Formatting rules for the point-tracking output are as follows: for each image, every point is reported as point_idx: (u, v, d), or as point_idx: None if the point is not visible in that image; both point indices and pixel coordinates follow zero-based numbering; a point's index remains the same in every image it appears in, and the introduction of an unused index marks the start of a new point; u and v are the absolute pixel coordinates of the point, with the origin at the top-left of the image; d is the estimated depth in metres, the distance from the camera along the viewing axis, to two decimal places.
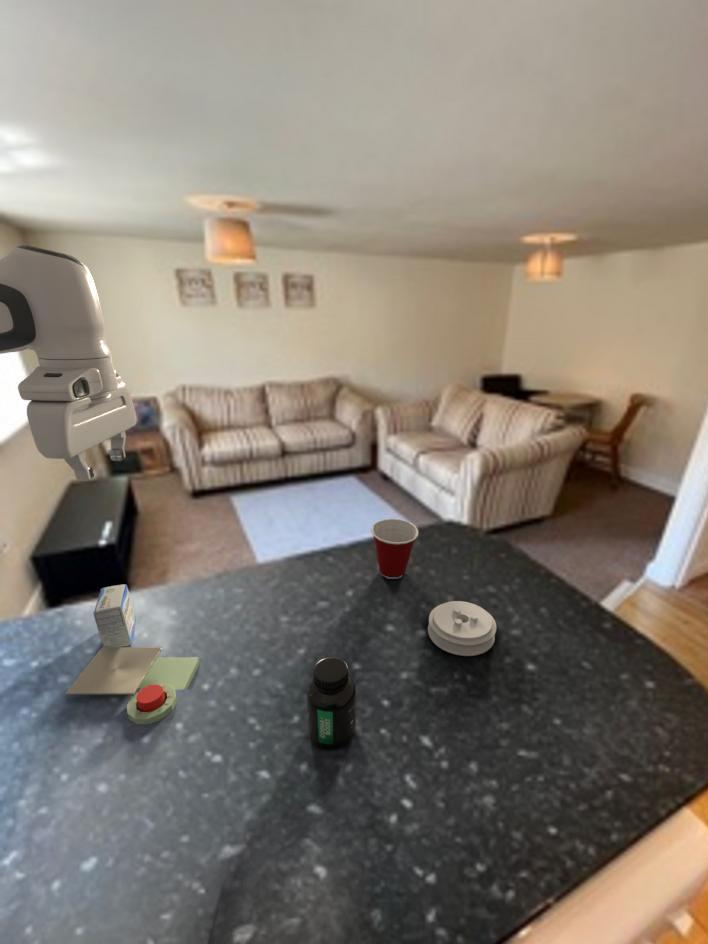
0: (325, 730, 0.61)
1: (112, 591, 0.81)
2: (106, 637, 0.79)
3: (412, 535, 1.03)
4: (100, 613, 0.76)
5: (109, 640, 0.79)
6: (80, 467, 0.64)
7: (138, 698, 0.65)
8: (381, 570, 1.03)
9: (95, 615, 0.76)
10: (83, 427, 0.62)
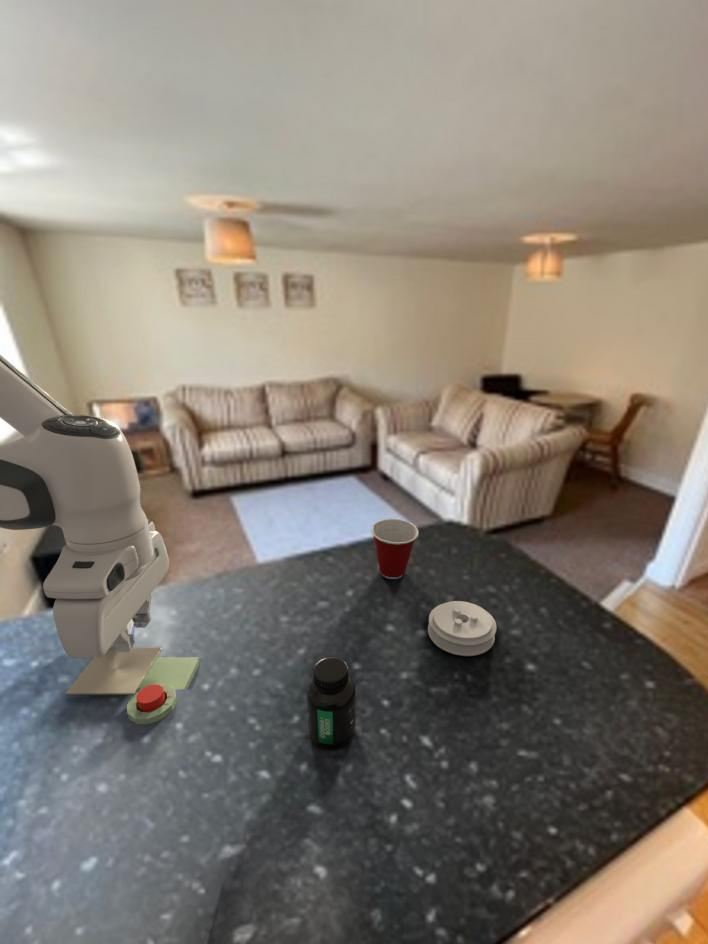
0: (325, 730, 0.61)
1: None
2: None
3: (412, 535, 1.03)
4: None
5: None
6: (121, 640, 0.57)
7: (138, 698, 0.65)
8: (381, 570, 1.03)
9: None
10: (116, 612, 0.54)
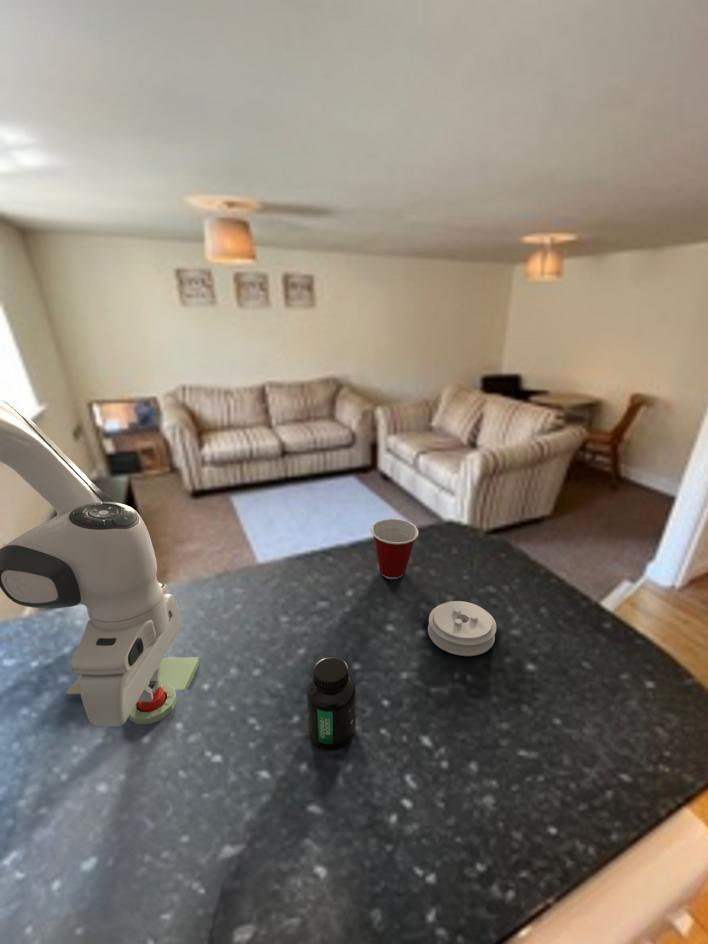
0: (325, 730, 0.61)
1: None
2: None
3: (412, 535, 1.03)
4: None
5: None
6: (144, 692, 0.63)
7: None
8: (381, 570, 1.03)
9: None
10: (135, 680, 0.58)
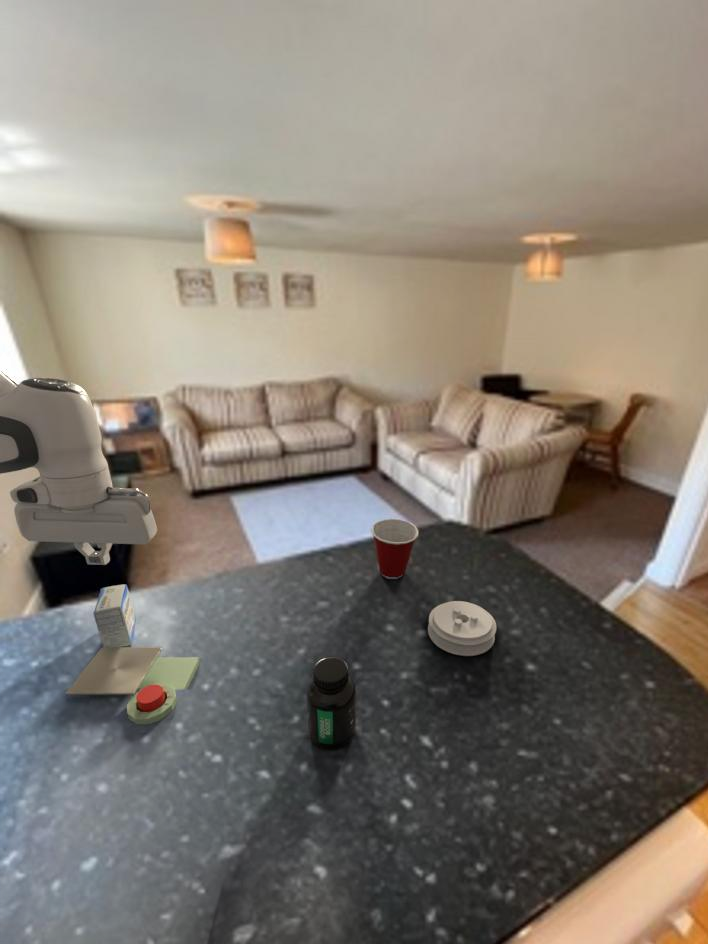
0: (325, 730, 0.61)
1: (112, 591, 0.81)
2: (106, 637, 0.79)
3: (412, 535, 1.03)
4: (100, 613, 0.76)
5: (109, 640, 0.79)
6: None
7: (138, 698, 0.65)
8: (381, 570, 1.03)
9: (95, 615, 0.76)
10: (48, 524, 0.70)
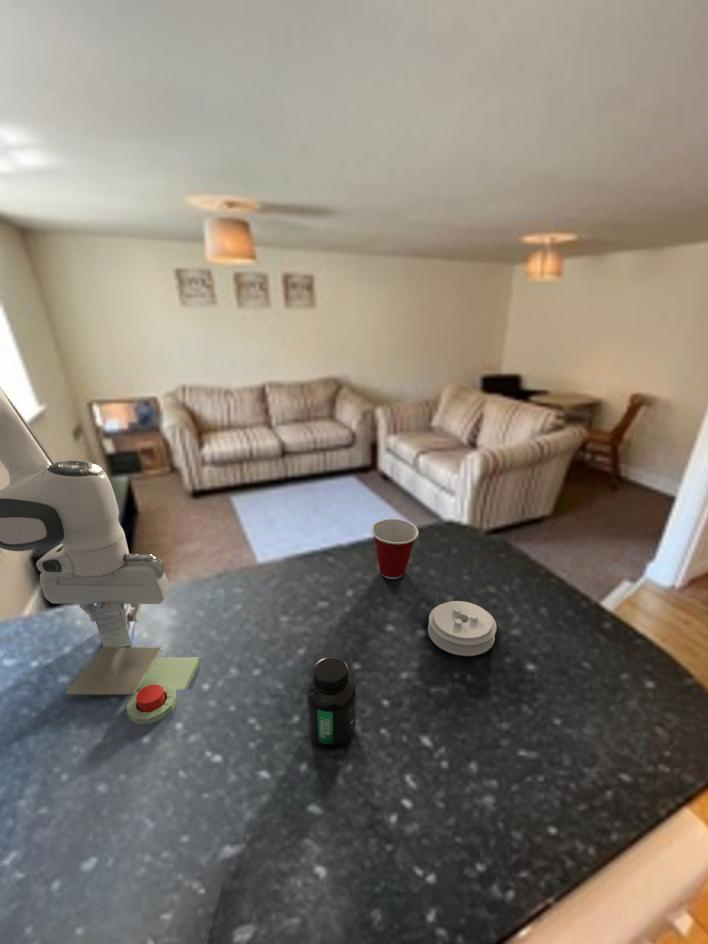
0: (325, 730, 0.61)
1: None
2: (106, 637, 0.79)
3: (412, 535, 1.03)
4: (100, 613, 0.76)
5: (109, 641, 0.79)
6: None
7: (138, 698, 0.65)
8: (381, 570, 1.03)
9: (95, 615, 0.76)
10: (70, 588, 0.77)
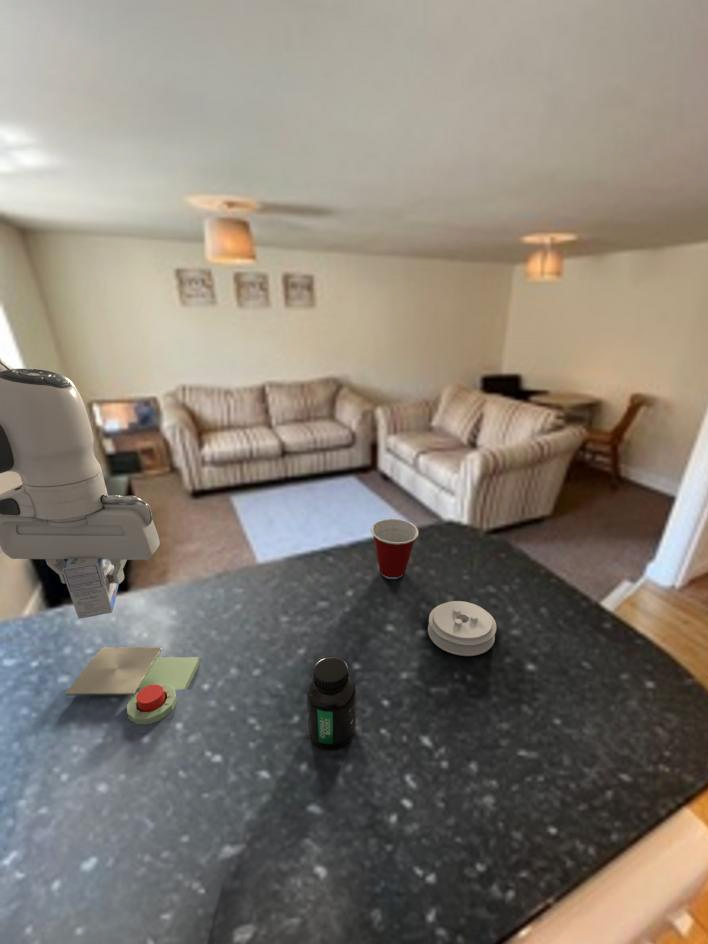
0: (325, 730, 0.61)
1: None
2: (80, 602, 0.63)
3: (412, 535, 1.03)
4: (72, 569, 0.61)
5: (84, 606, 0.63)
6: None
7: (138, 698, 0.65)
8: (381, 570, 1.03)
9: (65, 572, 0.60)
10: (33, 539, 0.61)
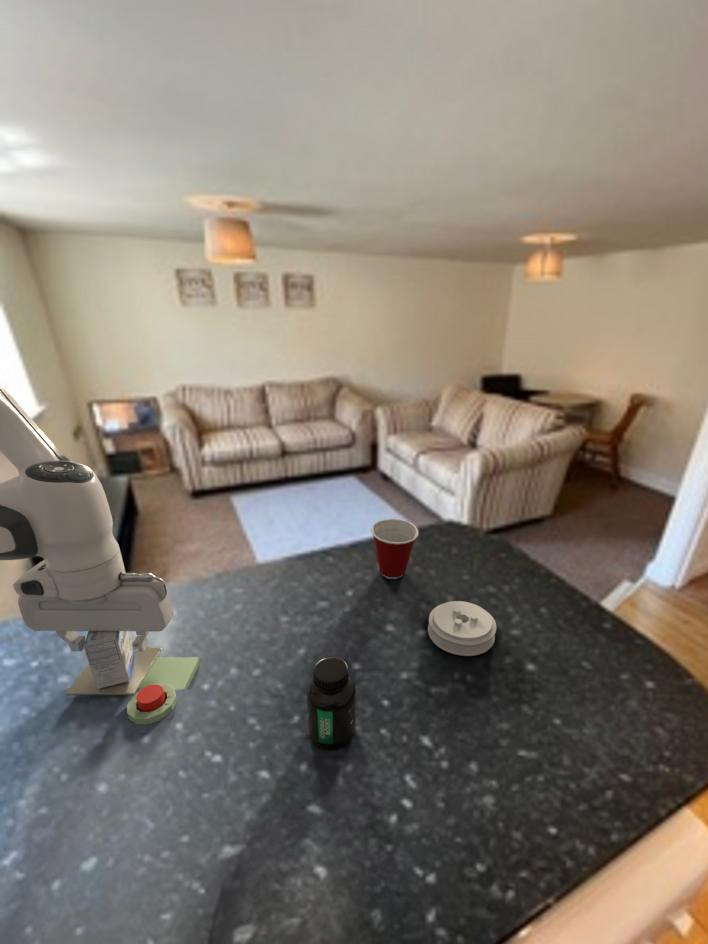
0: (325, 730, 0.61)
1: None
2: (99, 674, 0.67)
3: (412, 535, 1.03)
4: (92, 645, 0.64)
5: (103, 677, 0.67)
6: None
7: (138, 698, 0.65)
8: (381, 570, 1.03)
9: (86, 648, 0.64)
10: (55, 614, 0.65)
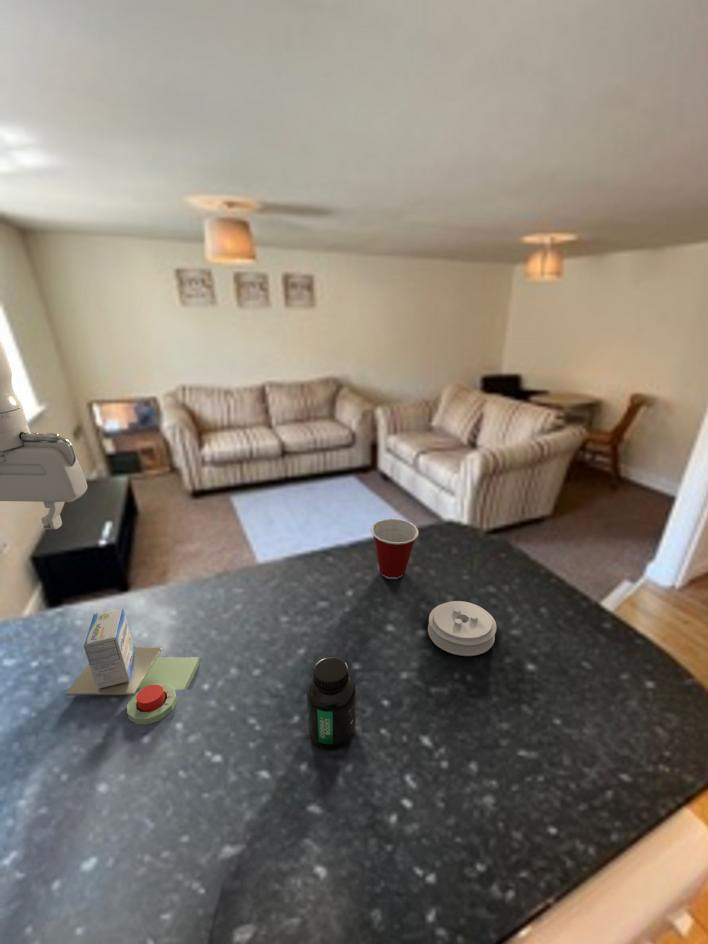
0: (325, 730, 0.61)
1: (106, 618, 0.69)
2: (99, 674, 0.67)
3: (412, 535, 1.03)
4: (92, 645, 0.64)
5: (103, 677, 0.67)
6: None
7: (138, 698, 0.65)
8: (381, 570, 1.03)
9: (86, 648, 0.64)
10: None
